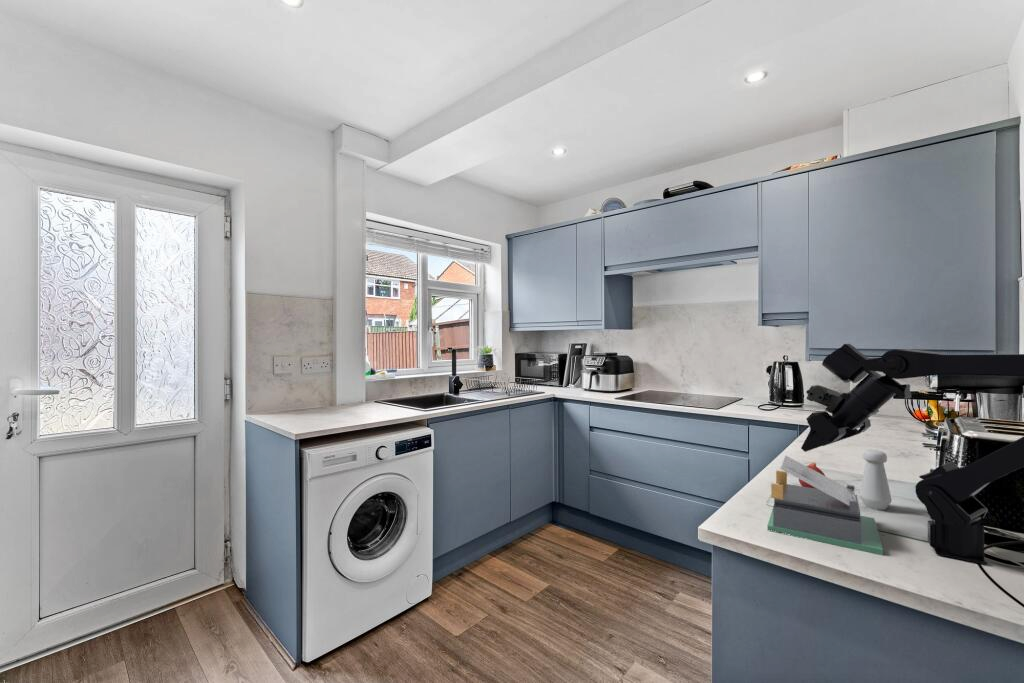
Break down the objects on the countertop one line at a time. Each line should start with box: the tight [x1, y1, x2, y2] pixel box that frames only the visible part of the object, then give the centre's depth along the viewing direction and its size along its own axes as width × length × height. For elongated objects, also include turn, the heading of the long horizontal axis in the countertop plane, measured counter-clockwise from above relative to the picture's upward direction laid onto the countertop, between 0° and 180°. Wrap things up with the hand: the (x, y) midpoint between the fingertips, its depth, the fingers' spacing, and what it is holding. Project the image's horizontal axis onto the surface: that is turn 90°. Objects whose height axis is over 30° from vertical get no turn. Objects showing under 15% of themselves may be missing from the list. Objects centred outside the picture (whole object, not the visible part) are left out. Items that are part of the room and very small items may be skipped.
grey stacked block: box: [770, 469, 861, 544], centre depth 92 cm, size 14×16×8 cm
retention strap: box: [780, 455, 856, 506], centre depth 91 cm, size 14×10×1 cm
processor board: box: [767, 508, 884, 556], centre depth 91 cm, size 18×17×1 cm
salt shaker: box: [858, 449, 893, 511], centre depth 101 cm, size 6×6×13 cm
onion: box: [798, 462, 826, 489], centre depth 110 cm, size 6×6×8 cm
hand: (812, 447), depth 99 cm, fingers open, 9 cm apart
